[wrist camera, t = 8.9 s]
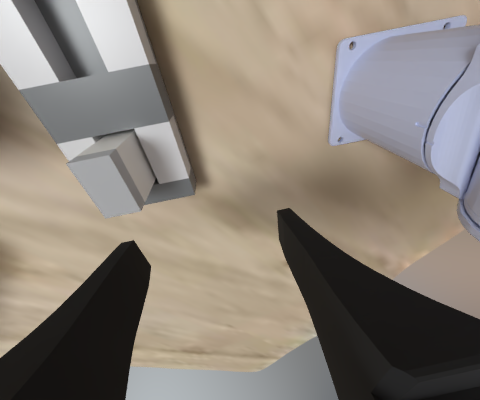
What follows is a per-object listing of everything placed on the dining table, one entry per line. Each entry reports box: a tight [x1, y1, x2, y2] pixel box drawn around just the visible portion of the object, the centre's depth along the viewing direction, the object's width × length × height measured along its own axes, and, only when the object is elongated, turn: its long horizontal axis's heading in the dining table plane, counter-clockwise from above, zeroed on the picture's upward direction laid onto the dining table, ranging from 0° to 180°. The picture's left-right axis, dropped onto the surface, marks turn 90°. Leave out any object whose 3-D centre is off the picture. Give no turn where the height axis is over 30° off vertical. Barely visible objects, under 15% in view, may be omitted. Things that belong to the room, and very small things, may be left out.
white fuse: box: [66, 129, 156, 218], centre depth 15 cm, size 4×2×6 cm, turn 9°
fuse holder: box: [0, 0, 196, 205], centre depth 14 cm, size 16×8×2 cm, turn 9°
